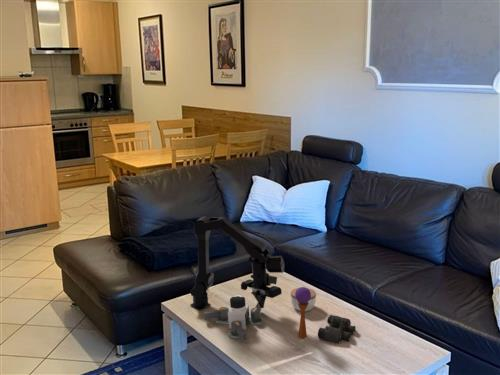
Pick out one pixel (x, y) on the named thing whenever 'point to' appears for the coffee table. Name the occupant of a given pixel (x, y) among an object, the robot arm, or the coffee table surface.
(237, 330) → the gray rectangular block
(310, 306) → the white bowl
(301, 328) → the kendama
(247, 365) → the coffee table surface
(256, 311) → the foot screw
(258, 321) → the tribrach plate
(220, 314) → the foot screw
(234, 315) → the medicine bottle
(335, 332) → the binoculars
